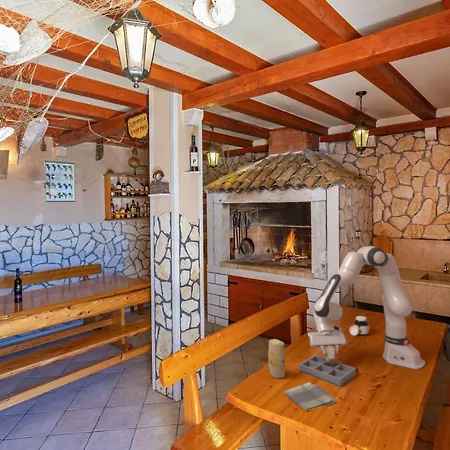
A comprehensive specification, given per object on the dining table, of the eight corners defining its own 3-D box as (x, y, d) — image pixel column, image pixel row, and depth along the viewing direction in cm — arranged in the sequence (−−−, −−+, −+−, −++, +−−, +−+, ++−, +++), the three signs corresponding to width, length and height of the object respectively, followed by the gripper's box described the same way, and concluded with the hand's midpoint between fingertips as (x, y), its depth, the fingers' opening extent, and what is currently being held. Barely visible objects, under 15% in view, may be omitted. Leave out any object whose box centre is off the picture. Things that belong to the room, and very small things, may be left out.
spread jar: (369, 333, 255) (369, 317, 254) (366, 338, 246) (366, 322, 245) (352, 330, 262) (352, 314, 261) (348, 335, 252) (348, 319, 251)
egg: (336, 362, 201) (336, 345, 200) (332, 365, 198) (332, 348, 197) (328, 360, 204) (328, 343, 204) (324, 362, 201) (324, 346, 200)
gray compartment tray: (355, 375, 196) (355, 368, 195) (340, 386, 184) (340, 379, 183) (315, 361, 213) (315, 354, 213) (299, 370, 202) (299, 364, 201)
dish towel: (305, 413, 162) (305, 407, 162) (283, 394, 179) (283, 388, 178) (337, 403, 170) (337, 397, 170) (314, 386, 186) (314, 380, 186)
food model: (287, 376, 196) (287, 340, 195) (281, 381, 191) (281, 344, 189) (271, 371, 202) (271, 336, 200) (265, 376, 196) (265, 340, 195)
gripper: (308, 328, 206) (314, 352, 197) (343, 327, 207) (350, 350, 198) (306, 333, 211) (311, 356, 202) (340, 331, 212) (346, 355, 203)
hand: (331, 353), depth 200 cm, fingers closed on egg, 5 cm apart
